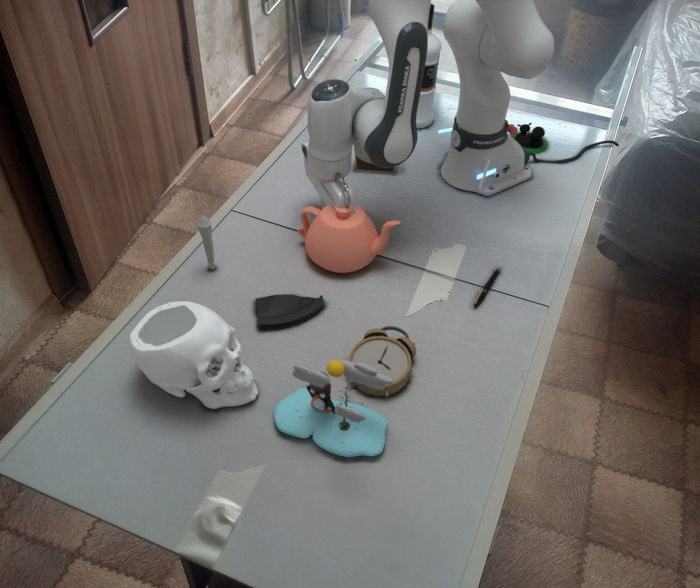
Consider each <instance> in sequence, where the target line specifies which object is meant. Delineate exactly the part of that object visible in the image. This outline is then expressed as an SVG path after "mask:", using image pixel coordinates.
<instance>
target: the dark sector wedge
mask: <svg viewBox="0 0 700 588" xmlns="http://www.w3.org/2000/svg"><path fill="white" fill-rule="evenodd" d="M324 307H325V300H324V297H323V295H322V294H321V295H320V296H319V297H310V296H300V295H295V294H288V293H286V294H271V295H267V296H262V297H256V298H255V312H256V315H257V319H256V322H257V324H258V326H259V330H260V331H271V330H281V329H286V328H290V327H293V326H296V325H299V324H301V323H303V322H306V321H307V320H309V319H311V318H312V317H313V316H315V315H316V314H318V313H319V312H320V311H321V310H322V309H323V308H324Z"/></svg>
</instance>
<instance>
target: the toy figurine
mask: <svg viewBox="0 0 700 588" xmlns="http://www.w3.org/2000/svg"><path fill="white" fill-rule="evenodd" d="M532 124H533V123H532V122H529V123H528V124H527V123H524V124H519V123H518V124H516V127H519V128H518V131H519V132H517V133H516V134H515V135H514V136H512V135H510V136H511V137H512V138H513V139H515V140H516V141H517V142H518V143H519V144H521V145H522V147H523V148H524V149H525V150H526V151H527V152H530V153H534V154H537V153H542V152H544V151H545V150H547V149H548V145H549V144H548V141H547V140H546V139H545V138H544V136H545V135H546V131H545V129H544V127H542V126H538V125H537V126H535V127H533V129H532V131H531V125H532Z"/></svg>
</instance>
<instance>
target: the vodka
mask: <svg viewBox="0 0 700 588" xmlns="http://www.w3.org/2000/svg"><path fill="white" fill-rule="evenodd" d="M435 7H436V6H435V4H434V3H431V4H430V11H429V19H428V47H427V57H426V64H425V70H424V75H423V81H422V87H421V92H420V98H419V103H418V109H417V116H416V127H417V129H424V128H428V126H431V124H432V123H433V122H434V119H435V118H434V117H435V111H434V110H435V109H434V105H435V95H436V90H437V79H438V70H439V63H440V57H441V51H442V47H443V45H442V41H441V39H440V38H439V37H438V36H437V35H436V34H434V33H433V23H434V14H435Z"/></svg>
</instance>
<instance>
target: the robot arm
mask: <svg viewBox="0 0 700 588" xmlns="http://www.w3.org/2000/svg"><path fill="white" fill-rule="evenodd" d="M430 4H432V0H368V11H369V14H370V17H371V20H372V22H373V24H374V25H375V27H376V29H377V32H378V34H379V35H380V38H381V41H382V43H383V46H384V49H385V51H386V55H387V60H388V61H387V62H388V76H387V81H386V89H385V94H384V93H383V92H382V91H381V90H380V89H377V88H376V87H363V88H362V87H357V86H353V85H351V84H349V83H348V82H347V81H345V80H342V79H338V78H336V79H335V78H332V79H327V80H324V81H322V82H319V83H318V84H316V86H314V88H313V89H312V90H311V93H310V95H309V100H308V105H307V134H308V136H309V140H306V141H302V142H301V152H302V154H303V162H304V163H303V164H304V171H305V174H306V177H307V178H308V181H309V182H310V183H311V184H312V186H313V188H314V189H315V191H316V193H317V194H318V196H319V197H320V200H321V204H322V209H323V208H324V207H325V206H327V205H329V204H331V205H332V207H333V208H334V210H335V212H336V209H335V207H336V206H337V207H338V208H340V209H341V208H345V207H351V210H350V212H349V214H348V216H349V215H352V214H355V204H356V203H355V202H356V201H355V195H354V191H353V189H352V188H351V185H350V184H349V183H348V182H347V180H346V177H348V176H349V175H350V173H351V171H352V156H353V155H352V153H353V152H352V150H353V147H354V144H355V143H360V144H361V146H362V147H363V148H364V150H365V152H366V154H367V155H368V157H369V159H370V160H371V162H372V163H373V164H374V165H376V166H378V167H381V168H391V167H395V168H396V167H399V166H400V165H402V164H403V163H405V162H407V161H408V160H409V158H410V157H411V156H412V154H413V153H414V151H415V150H416V149H415V148H416V146H417V143H418V128H417V127H416V116H417V109H418V103H419V98H420V92H421V87H422V81H423V75H424V70H425V64H426V57H427V47H428V19H429V11H430ZM442 33H443V37H444V40H445V41H446V42H447V44H448V46H449V48H450V49H451V51H452V54H453V56H454V59H455V62H456V67H457V71H458V78H459V96H458V105H457V112H456V115H455V117H454V119H453V124H452V127H449V128H444V129H438V134H442V133H448V132H449V133H450V132H451V136H450V137H451V139H450V140H451V141H450V142H451V143H450V145H449V148H448V151H447V154H446V156H445V158H444V162H443V164H442V165H441V168H440V176H441V178H442V179H443V180H444V181H445V182H446V183H447V184H449V185H450V186H452V187H453V188H456V189H459V190H462V191H466V192H474V193H477V194H479V195H482V196H486V197H489V196H493V195H495V194H497V193H499V192H502V191H504V190H506V189H509V188H511V187H514V186H515V185H518V184H520V183H522V182H525V181H527V180H529V179H531V178H532V169H531V167H530V165H529V162H530V157H532V159H533V161H534V162H536V163H545V164H561V163H567V162H570V161H574V160H577V159H578V158H580V156H582V154H583V153H584V152H585V151H586V150H588V149H590V148H593V147H596V146H600V145H605V144H612V145H614V146H616V147H620V145H619V143H618V142H617V141H616V140H611V139H609V140H601V141H598V142H597V141H596V142H594V143H591V144H587V145H586V146H584V147H583V148H582V149H581V150H580V151H579V152H578V153H577V154H575V156H572V157H567V158H564V159H558V160H543V159H539V158H537V155H536V153H530V152H527V151H526V150H525V149H524V148H523V147H522V145H521V144H519V143H518V142H517V141H516V140H515V139H513V138H512V137H511V136H514V135H515V134H516V133H518V132H519V128H518V126H515V125H514V124H513V123H511V124H510V123H509V121H508V120H507V119H506V118H507V113H508V109H509V105H510V101H511V89H510V85H509V84H508V82H507V81H506V79H505V78H504V76H503V74H505V75H507V76H509V77H514V78H518V79H525V80H532V79H535V78H536V77H538V76H539V75H541V74H542V73H543V72H545V70H546V69H547V68H548V66H549V65H550V63H551V61H552V59H553V55H554V51H555V39H554V34H553V32H551V31H550V30H549V28H548V27H547V26H546V24H545V23H544V22H543V20H542V18H541V16H540V14H539V11H538V9H537V7H536V5H535V2H534V0H455V1H454V2H453V3H452V4H451V5H450V6H449V7H448V9H447V11H446V13H445V15H444V18H443V23H442ZM502 73H503V74H502ZM336 213H337V212H336ZM337 215H338V214H337Z"/></svg>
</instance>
